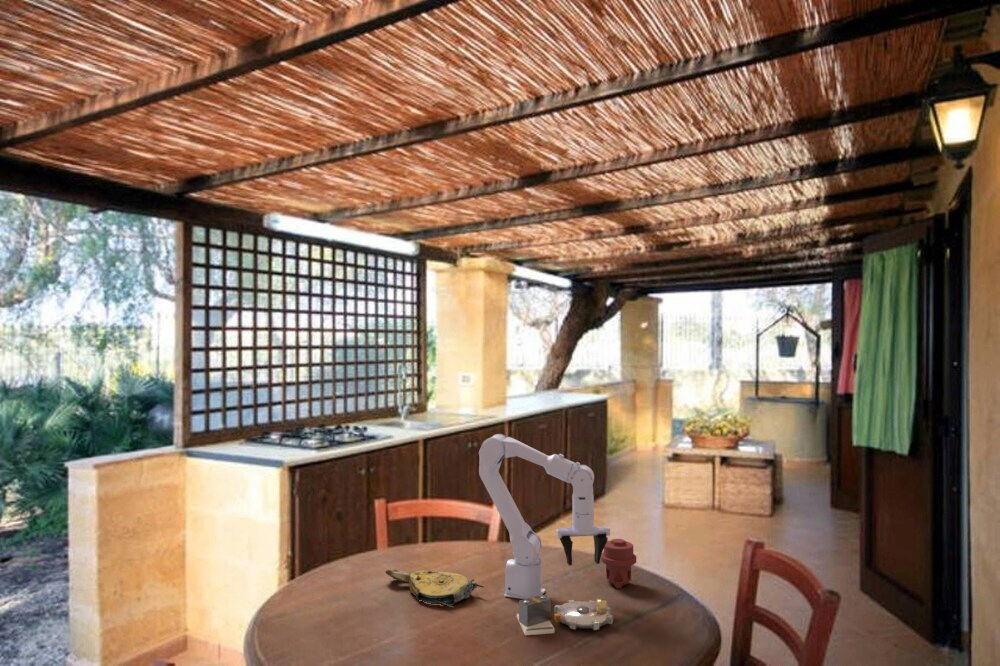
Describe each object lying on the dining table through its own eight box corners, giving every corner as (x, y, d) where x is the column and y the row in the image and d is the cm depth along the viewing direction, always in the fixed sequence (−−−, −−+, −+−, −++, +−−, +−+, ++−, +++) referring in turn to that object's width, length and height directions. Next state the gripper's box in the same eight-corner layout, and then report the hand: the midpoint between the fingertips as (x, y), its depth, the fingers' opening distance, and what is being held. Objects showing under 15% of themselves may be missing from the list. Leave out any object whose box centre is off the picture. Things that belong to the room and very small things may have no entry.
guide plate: (516, 617, 156) (516, 612, 156) (544, 615, 157) (544, 610, 157) (525, 635, 146) (525, 630, 146) (554, 633, 147) (554, 628, 147)
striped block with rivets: (542, 615, 155) (542, 593, 155) (550, 620, 152) (550, 598, 152) (518, 621, 151) (518, 599, 151) (527, 627, 148) (527, 604, 148)
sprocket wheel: (544, 609, 158) (543, 591, 158) (596, 602, 163) (596, 584, 163) (567, 634, 144) (567, 614, 145) (624, 625, 149) (624, 606, 149)
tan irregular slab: (407, 552, 188) (485, 574, 169) (409, 570, 188) (487, 594, 170) (371, 572, 177) (449, 598, 158) (373, 592, 177) (452, 620, 159)
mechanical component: (636, 579, 182) (636, 592, 173) (601, 577, 184) (600, 589, 175) (636, 536, 183) (636, 546, 173) (601, 534, 185) (599, 544, 175)
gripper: (603, 507, 174) (604, 557, 173) (553, 509, 171) (553, 560, 171) (612, 513, 167) (613, 565, 166) (559, 516, 164) (560, 568, 164)
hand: (583, 563), depth 168 cm, fingers open, 7 cm apart
